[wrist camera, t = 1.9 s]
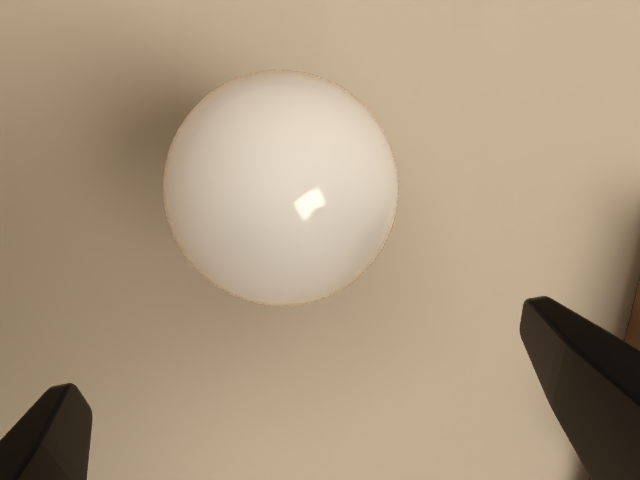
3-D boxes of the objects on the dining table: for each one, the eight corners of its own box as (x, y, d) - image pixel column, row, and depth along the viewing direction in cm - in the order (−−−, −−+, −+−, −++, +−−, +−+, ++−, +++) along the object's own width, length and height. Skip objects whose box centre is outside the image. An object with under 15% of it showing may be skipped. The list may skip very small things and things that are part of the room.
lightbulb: (252, 150, 22) (187, -18, 11) (387, 194, 22) (455, 65, 11) (200, 284, 21) (75, 242, 10) (342, 333, 21) (367, 343, 10)
